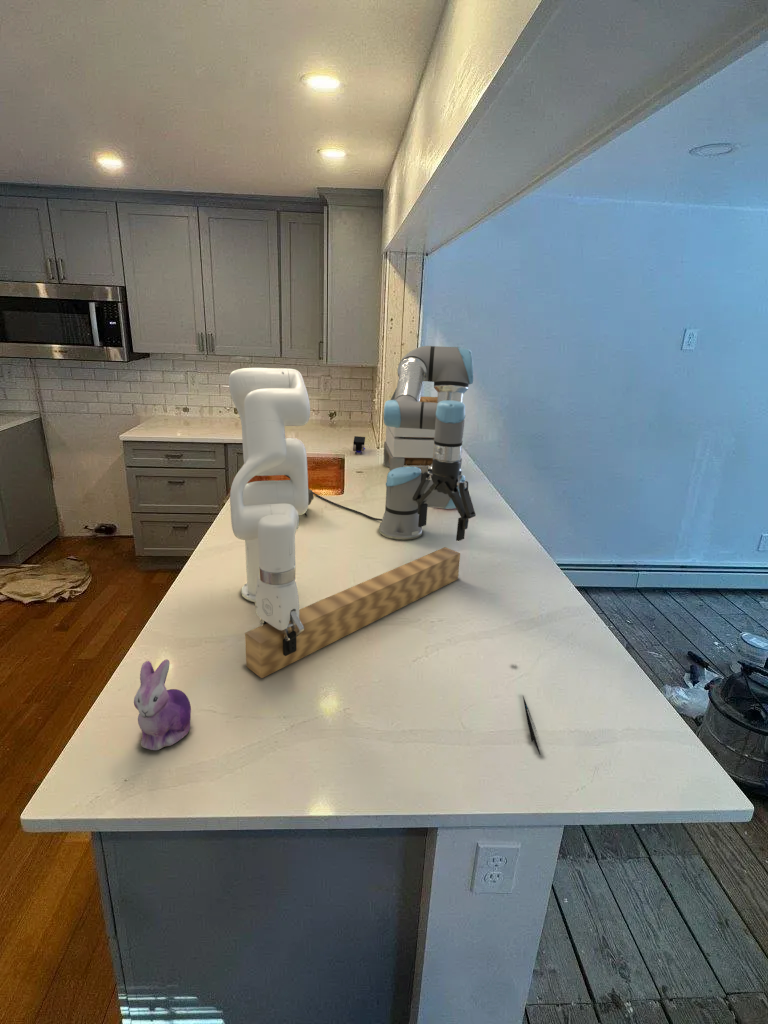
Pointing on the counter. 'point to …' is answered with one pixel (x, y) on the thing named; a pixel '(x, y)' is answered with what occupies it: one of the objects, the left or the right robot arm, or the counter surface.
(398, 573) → the beam
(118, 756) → the counter surface
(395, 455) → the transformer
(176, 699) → the figurine
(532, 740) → the feather
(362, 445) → the figurine character
